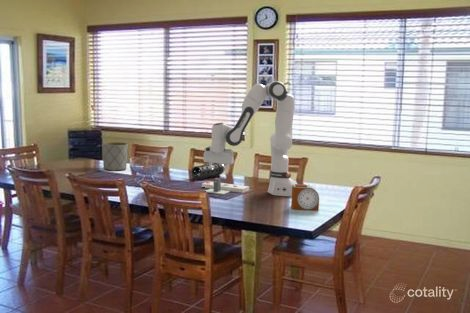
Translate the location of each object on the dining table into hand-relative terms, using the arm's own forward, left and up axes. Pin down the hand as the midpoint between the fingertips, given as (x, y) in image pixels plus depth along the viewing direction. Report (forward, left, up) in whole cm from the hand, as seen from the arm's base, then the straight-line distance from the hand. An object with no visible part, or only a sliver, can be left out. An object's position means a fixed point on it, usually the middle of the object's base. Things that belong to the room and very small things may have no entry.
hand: (218, 170), depth 338 cm
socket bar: (+1, -12, -14) cm, 18 cm away
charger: (0, 0, -14) cm, 14 cm away
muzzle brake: (+29, -41, -15) cm, 52 cm away
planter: (+104, -29, -14) cm, 108 cm away
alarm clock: (-61, +11, -14) cm, 64 cm away
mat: (+1, 0, -14) cm, 14 cm away
